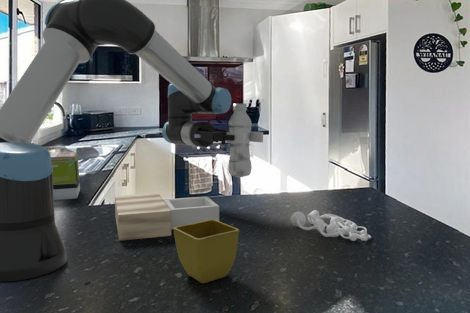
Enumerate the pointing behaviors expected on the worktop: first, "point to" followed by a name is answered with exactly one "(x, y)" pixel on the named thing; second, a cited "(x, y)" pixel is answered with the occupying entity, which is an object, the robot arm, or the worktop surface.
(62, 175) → the tea box
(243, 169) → the plastic bottle
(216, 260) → the flower pot
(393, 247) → the worktop surface
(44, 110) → the robot arm
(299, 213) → the tangled rod sculpture
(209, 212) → the frame
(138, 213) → the beige rectangular block
